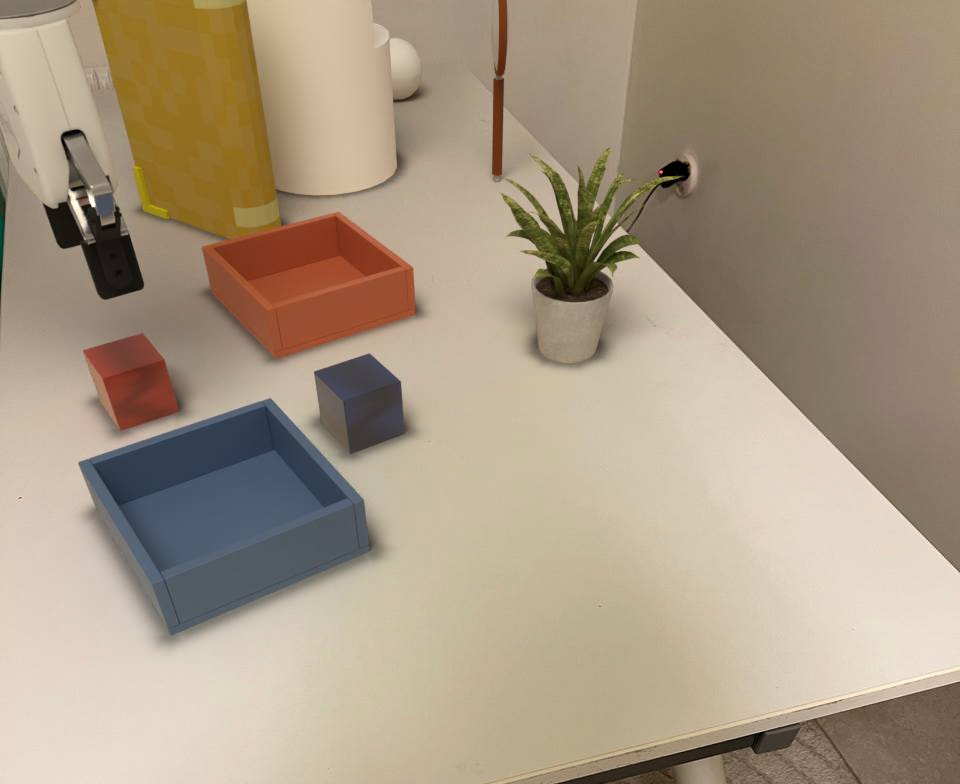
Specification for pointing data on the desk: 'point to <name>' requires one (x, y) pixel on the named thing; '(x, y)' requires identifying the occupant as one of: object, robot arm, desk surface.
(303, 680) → the desk surface
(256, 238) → the red bin
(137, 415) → the red block
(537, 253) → the house plant
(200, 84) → the book
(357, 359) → the blue block
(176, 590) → the blue bin
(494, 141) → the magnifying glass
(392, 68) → the white egg
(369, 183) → the cylinder
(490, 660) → the desk surface
